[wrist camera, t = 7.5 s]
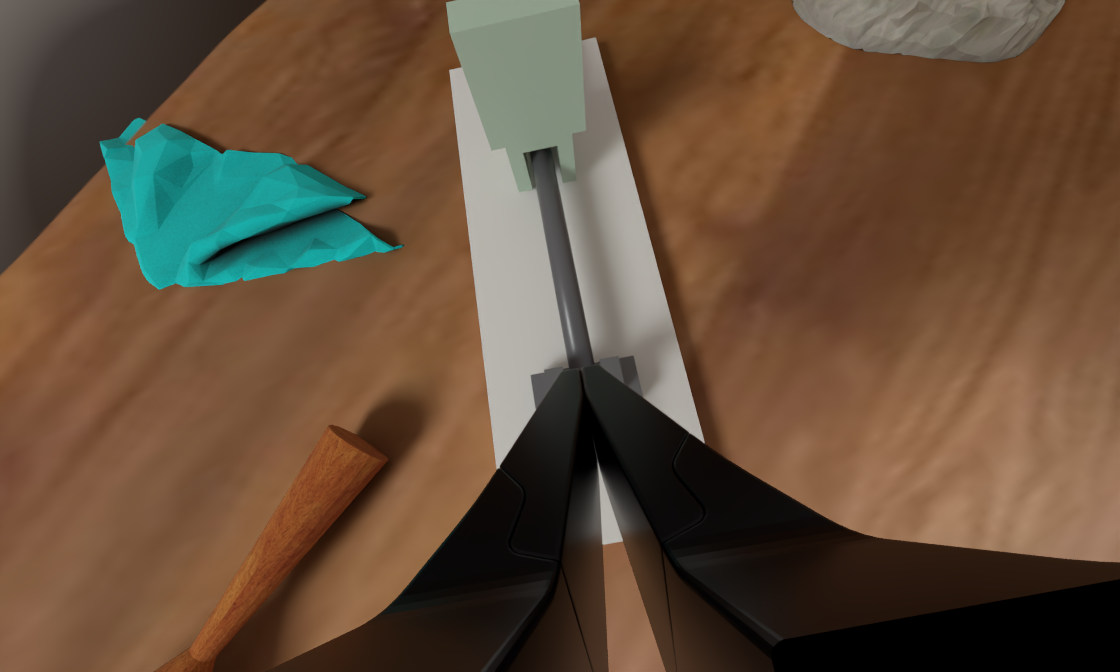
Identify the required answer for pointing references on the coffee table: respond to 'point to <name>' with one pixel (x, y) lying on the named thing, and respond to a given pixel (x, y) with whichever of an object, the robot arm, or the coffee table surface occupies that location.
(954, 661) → the robot arm
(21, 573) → the coffee table surface
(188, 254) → the cloth
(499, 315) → the white board with rod
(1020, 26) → the ceramic cottage
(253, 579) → the kendama
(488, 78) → the sage green stepped block
